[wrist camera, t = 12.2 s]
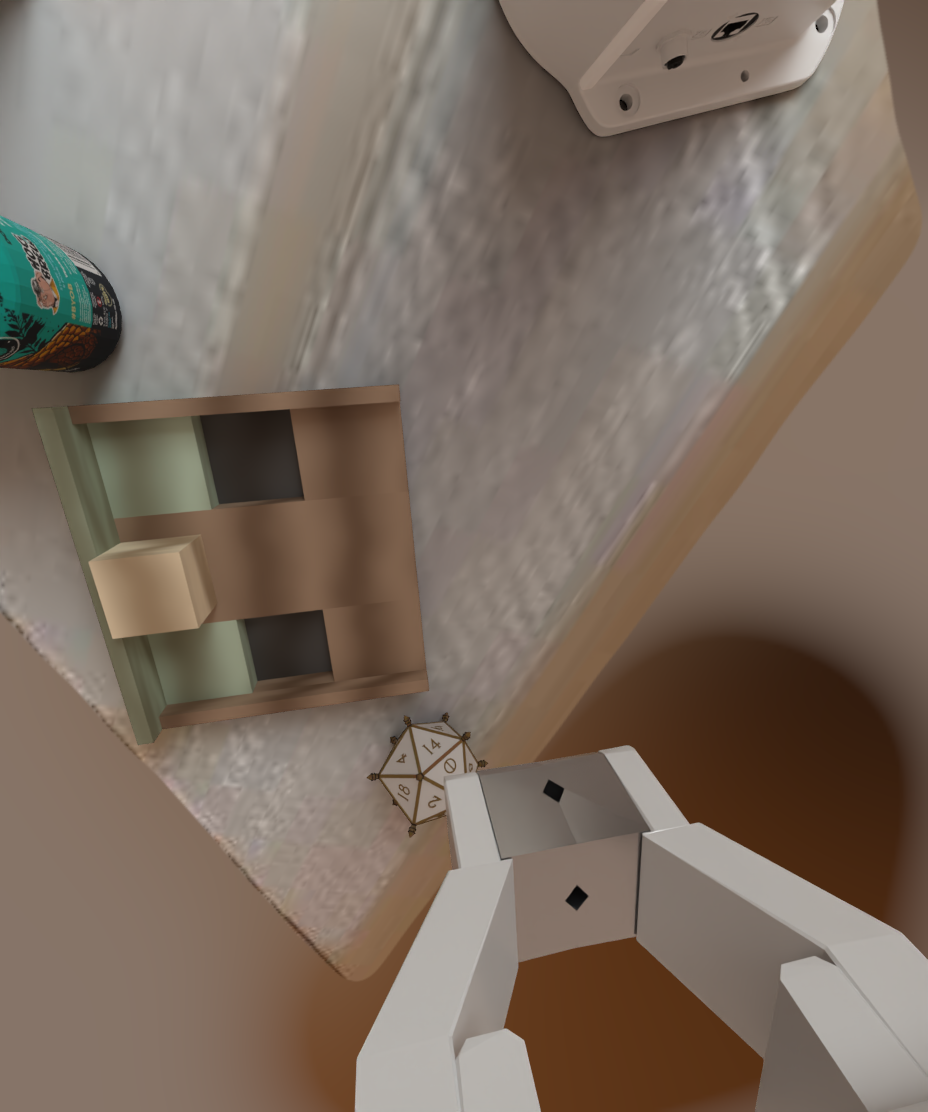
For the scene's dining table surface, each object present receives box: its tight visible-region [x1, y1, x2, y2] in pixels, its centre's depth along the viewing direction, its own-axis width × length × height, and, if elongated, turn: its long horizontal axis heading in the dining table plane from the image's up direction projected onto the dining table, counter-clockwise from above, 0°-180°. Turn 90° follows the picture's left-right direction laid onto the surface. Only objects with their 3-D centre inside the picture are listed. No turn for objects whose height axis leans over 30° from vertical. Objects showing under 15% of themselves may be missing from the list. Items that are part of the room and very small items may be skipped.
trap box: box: [32, 385, 429, 745], centre depth 35 cm, size 20×22×5 cm
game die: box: [367, 713, 488, 837], centre depth 41 cm, size 9×8×10 cm
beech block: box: [88, 535, 217, 639], centre depth 33 cm, size 5×5×4 cm
